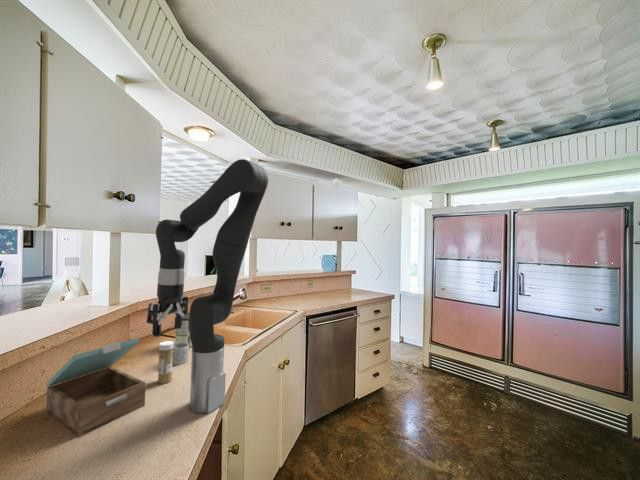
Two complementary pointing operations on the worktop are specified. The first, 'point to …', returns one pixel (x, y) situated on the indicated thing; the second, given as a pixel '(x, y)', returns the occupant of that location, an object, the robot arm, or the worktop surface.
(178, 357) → the mug
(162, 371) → the sprinkles bottle
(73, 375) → the lid
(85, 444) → the worktop surface
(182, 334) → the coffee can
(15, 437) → the worktop surface
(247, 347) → the worktop surface
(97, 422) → the storage box
